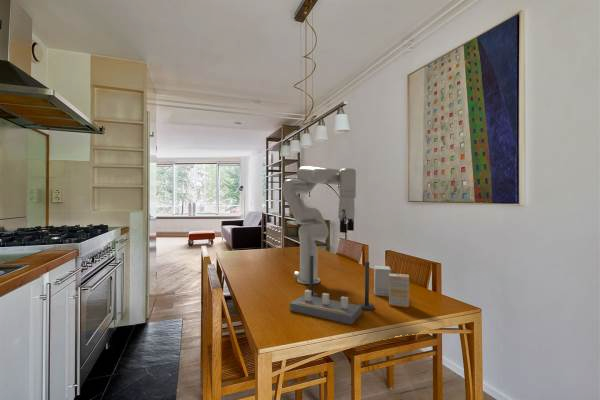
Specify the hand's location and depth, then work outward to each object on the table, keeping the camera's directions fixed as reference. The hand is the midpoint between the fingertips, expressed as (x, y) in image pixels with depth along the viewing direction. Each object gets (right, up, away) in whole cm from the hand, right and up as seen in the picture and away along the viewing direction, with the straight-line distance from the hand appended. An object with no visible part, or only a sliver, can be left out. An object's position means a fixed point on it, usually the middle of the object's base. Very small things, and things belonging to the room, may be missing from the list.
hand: (346, 231), depth 138 cm
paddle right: (-5, -27, -24) cm, 37 cm away
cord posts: (-5, -30, -9) cm, 32 cm away
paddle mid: (-12, -27, -20) cm, 36 cm away
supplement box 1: (+18, -31, +4) cm, 35 cm away
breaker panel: (-12, -30, -20) cm, 38 cm away
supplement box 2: (+20, -31, -12) cm, 39 cm away
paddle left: (-19, -27, -16) cm, 37 cm away
